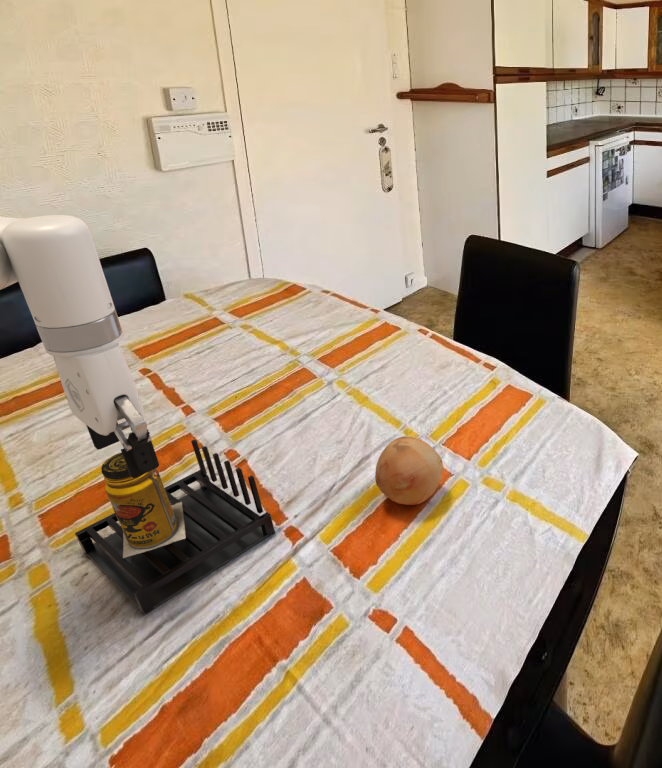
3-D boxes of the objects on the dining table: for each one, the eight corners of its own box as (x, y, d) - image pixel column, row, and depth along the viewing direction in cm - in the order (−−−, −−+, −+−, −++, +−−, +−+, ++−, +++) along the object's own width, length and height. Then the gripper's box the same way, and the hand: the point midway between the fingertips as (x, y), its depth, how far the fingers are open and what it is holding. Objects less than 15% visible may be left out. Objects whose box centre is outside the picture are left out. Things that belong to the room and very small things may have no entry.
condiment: (123, 559, 79) (90, 483, 73) (124, 520, 85) (94, 447, 80) (186, 539, 82) (159, 465, 76) (182, 503, 88) (157, 432, 82)
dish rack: (144, 615, 75) (119, 557, 71) (83, 551, 85) (57, 497, 80) (275, 532, 87) (261, 478, 83) (208, 485, 97) (192, 435, 93)
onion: (456, 503, 92) (451, 447, 87) (392, 527, 88) (383, 469, 83) (430, 470, 99) (425, 417, 95) (370, 490, 95) (361, 436, 90)
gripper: (14, 323, 71) (65, 447, 79) (76, 363, 62) (127, 499, 70) (85, 304, 77) (126, 422, 85) (152, 339, 67) (191, 468, 75)
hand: (126, 457), depth 77 cm, fingers open, 9 cm apart
